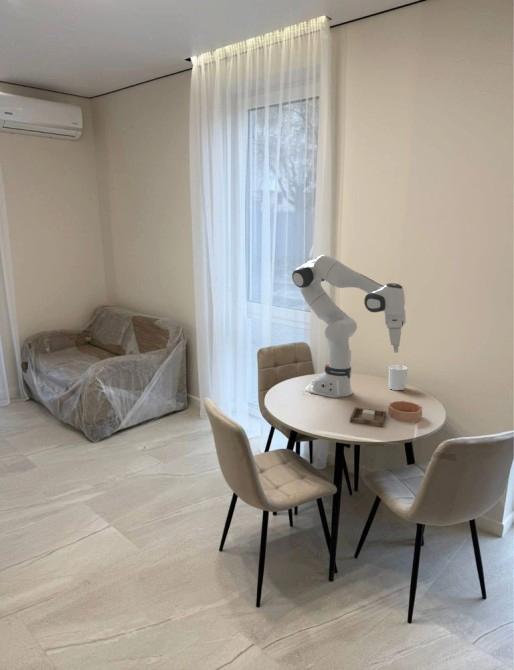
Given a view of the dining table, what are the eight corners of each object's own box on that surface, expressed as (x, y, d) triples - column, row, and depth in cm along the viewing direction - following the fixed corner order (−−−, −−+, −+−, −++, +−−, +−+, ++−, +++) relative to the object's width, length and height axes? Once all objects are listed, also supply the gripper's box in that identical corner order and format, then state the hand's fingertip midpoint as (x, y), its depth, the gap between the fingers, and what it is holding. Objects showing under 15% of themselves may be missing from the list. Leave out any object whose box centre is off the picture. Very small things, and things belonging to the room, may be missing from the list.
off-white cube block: (361, 419, 217) (362, 412, 217) (363, 416, 221) (363, 409, 220) (373, 421, 216) (373, 413, 215) (374, 418, 219) (375, 410, 219)
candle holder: (408, 387, 264) (410, 366, 262) (402, 392, 256) (404, 370, 253) (390, 384, 269) (391, 363, 267) (384, 389, 261) (386, 367, 259)
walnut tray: (349, 424, 215) (350, 418, 214) (354, 413, 227) (355, 407, 227) (382, 429, 210) (382, 422, 209) (385, 417, 223) (386, 411, 222)
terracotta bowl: (386, 420, 219) (387, 410, 218) (389, 409, 233) (390, 399, 232) (420, 425, 215) (421, 414, 213) (422, 413, 228) (422, 403, 227)
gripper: (389, 314, 230) (390, 343, 233) (386, 325, 211) (388, 355, 215) (403, 314, 228) (404, 342, 231) (401, 324, 209) (403, 355, 213)
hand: (396, 349), depth 223 cm, fingers open, 8 cm apart
